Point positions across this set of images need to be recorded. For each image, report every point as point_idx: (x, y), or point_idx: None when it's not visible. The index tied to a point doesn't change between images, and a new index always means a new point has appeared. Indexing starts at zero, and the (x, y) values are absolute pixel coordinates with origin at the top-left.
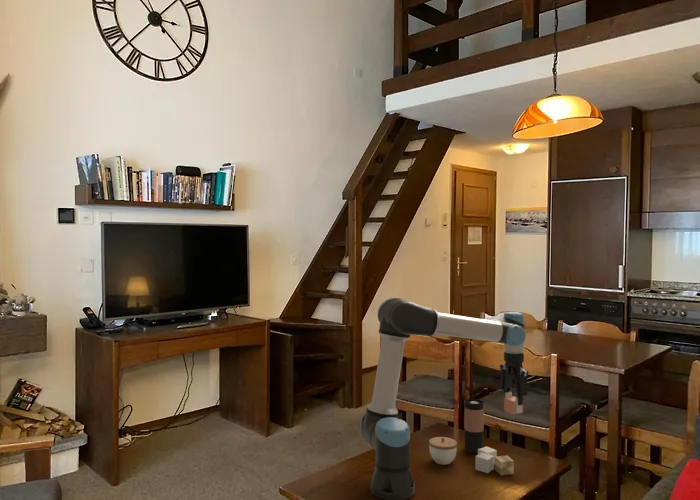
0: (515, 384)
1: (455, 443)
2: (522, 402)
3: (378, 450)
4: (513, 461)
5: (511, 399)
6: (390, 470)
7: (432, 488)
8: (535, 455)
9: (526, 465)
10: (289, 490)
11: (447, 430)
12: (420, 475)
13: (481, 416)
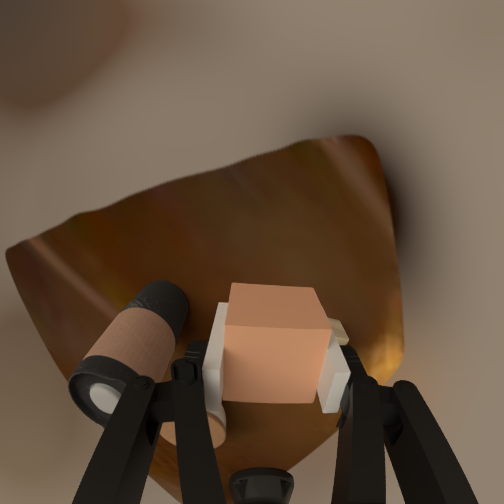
0: (337, 487)
1: (213, 423)
2: (357, 358)
3: None
4: (348, 339)
5: (274, 386)
6: None
7: (287, 454)
8: (284, 166)
9: (323, 252)
10: None
11: (34, 264)
12: (236, 448)
13: (158, 369)
